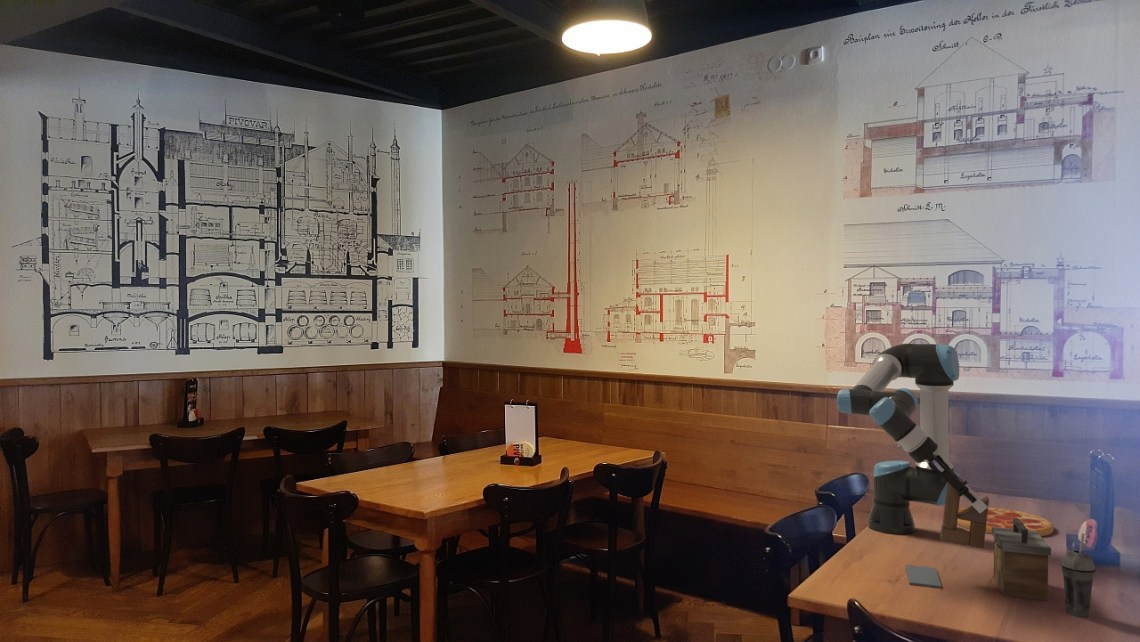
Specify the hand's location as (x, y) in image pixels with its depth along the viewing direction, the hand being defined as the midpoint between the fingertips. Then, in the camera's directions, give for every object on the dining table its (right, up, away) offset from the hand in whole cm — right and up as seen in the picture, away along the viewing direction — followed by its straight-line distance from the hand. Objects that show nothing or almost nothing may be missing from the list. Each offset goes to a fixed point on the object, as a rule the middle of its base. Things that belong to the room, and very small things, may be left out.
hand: (982, 507), depth 212 cm
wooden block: (-4, -11, +4) cm, 12 cm away
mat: (-14, -21, +5) cm, 26 cm away
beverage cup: (+13, -22, -20) cm, 32 cm away
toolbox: (+9, -21, -3) cm, 23 cm away
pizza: (+40, -22, +61) cm, 76 cm away
